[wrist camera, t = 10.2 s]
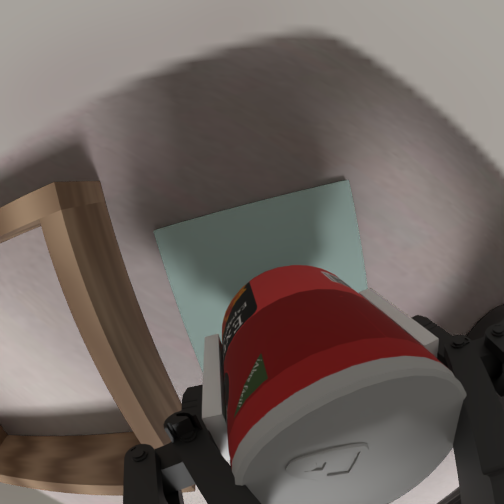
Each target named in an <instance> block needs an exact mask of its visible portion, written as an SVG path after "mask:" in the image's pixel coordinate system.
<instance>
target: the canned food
mask: <svg viewBox="0 0 504 504" xmlns="http://www.w3.org/2000/svg"><path fill="white" fill-rule="evenodd" d="M222 352H223V371H224V389H225V406H226V421H227V436H228V449H229V455H230V464H231V469H232V473H233V475H234V477H235V485H241V486H243V485H246V486H247V487H248V489H249V490H250V491H251V492H252V493H253V494H254V496H255V497H256V498H257V499H258V500H259V501H260V503H261V504H389V503H391V502H393V501H394V500H396V499H398V498H400V497H401V496H403V495H404V494H406V493H407V492H409V491H410V490H411V489H413V488H414V487H416V486H417V485H418V484H419V483H420V482H422V481H423V480H424V479H425V478H426V477H427V476H429V475H430V474H431V473H432V472H433V471H434V470H435V469H436V467H437V466H438V465H439V464H440V463H441V462H442V461H443V460H444V458H445V457H446V456H447V455H448V453H449V452H450V450H451V449H452V448H453V442H454V437H455V433H456V428H457V424H458V420H459V415H460V411H461V407H462V404H463V400H464V399H465V397H466V396H467V395H466V392H465V390H464V388H463V386H462V384H461V382H460V381H459V380H458V379H456V378H455V376H454V375H453V373H452V371H450V370H449V369H448V368H447V367H446V366H445V365H444V364H442V363H441V362H440V361H439V360H438V359H437V358H436V357H435V356H434V355H433V354H432V353H431V352H429V351H428V350H427V349H426V348H425V347H424V346H422V345H421V344H420V343H419V342H418V341H416V340H415V339H414V338H413V337H412V336H410V335H409V334H408V333H407V332H406V331H404V330H403V329H402V328H401V327H399V326H398V325H397V324H396V323H395V322H393V321H392V320H391V319H390V318H388V317H387V316H386V315H385V314H384V313H382V312H381V311H380V310H379V309H377V308H376V307H375V306H374V305H372V304H371V303H370V302H369V301H367V300H366V299H365V298H364V297H363V296H361V295H360V294H359V293H358V292H356V291H355V290H354V289H353V288H351V287H350V286H349V285H347V284H346V283H345V282H344V281H342V280H341V279H340V278H338V277H337V276H336V275H335V274H333V273H330V272H328V271H326V270H324V269H321V268H317V267H313V266H308V265H290V266H283V267H277V268H274V269H271V270H268V271H265V272H263V273H262V274H260V275H258V276H256V277H254V278H253V279H252V280H250V281H249V282H248V283H247V284H246V285H244V286H243V287H242V288H241V289H240V290H239V292H238V293H237V294H236V295H235V296H234V298H233V299H232V300H231V302H230V304H229V306H228V308H227V310H226V312H225V316H224V319H223V323H222Z"/></svg>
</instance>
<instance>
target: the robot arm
mask: <svg viewBox="0 0 504 504" xmlns="http://www.w3.org/2000/svg"><path fill="white" fill-rule="evenodd" d="M359 294H360V295H361V296H363V297H364V298H365V299H366V300H367V301H369V302H370V303H371V304H372V305H374V306H375V307H376V308H377V309H379V310H380V311H381V312H382V313H384V314H385V315H386V316H387V317H388V318H390V319H391V320H392V321H393V322H395V323H396V324H397V325H398V326H399V327H401V328H402V329H403V330H404V331H406V332H407V333H408V334H409V335H410V336H412V337H413V338H414V339H415V340H416V341H418V342H419V343H420V344H421V345H422V346H424V347H425V348H426V349H427V350H428V351H429V352H431V353H432V354H433V355H434V356H435V357H436V358H437V359H438V360H439V361H440V362H441V363H442V364H444V365H445V366H446V367H447V368H448V369H449V370H450V371H452V373H453V375H454V376H455V378H456V379H458V380H459V381H460V382H461V384H462V386H463V388H464V390H465V392H466V395H467V396H466V397H465V399H464V400H463V404H462V407H461V411H460V415H459V420H458V424H457V428H456V433H455V437H454V442H453V448H454V454H455V460H456V466H457V472H458V479H459V487H458V488H457V489H455V490H454V491H453V492H452V493H450V494H449V495H448V496H446V497H445V498H444V499H442V500H441V501H440V502H438V503H437V504H504V305H501V306H499V307H497V308H495V309H493V310H492V311H491V312H489V313H488V314H487V315H486V316H484V317H483V318H482V319H481V320H480V321H479V322H478V323H477V324H476V326H475V327H474V328H473V329H472V330H471V332H470V333H469V334H468V335H467V336H463V335H455V336H452V335H450V334H449V333H447V332H446V331H445V330H443V329H442V328H440V327H439V326H437V325H436V324H435V323H432V321H430V320H429V319H428V318H426V317H423V316H419V315H417V316H414V317H412V318H411V317H409V316H408V315H407V314H405V313H404V312H403V311H401V310H400V309H399V308H397V307H396V306H395V305H393V304H392V303H390V302H389V301H388V300H386V299H385V298H384V297H382V296H381V295H380V294H378V293H377V292H375V291H374V290H373V289H371V288H369V289H366V290H363V291H360V292H359ZM181 409H182V410H181V411H178V412H175V413H173V414H172V415H170V416H169V417H168V418H167V419H166V420H165V422H164V424H163V425H164V429H165V431H166V433H167V435H168V436H169V438H170V440H171V442H170V443H168V444H166V445H164V446H162V447H159V448H156V449H154V448H153V447H152V446H151V445H148V444H138V445H135V446H133V447H132V448H130V449H129V450H128V451H127V452H126V454H125V457H124V477H123V504H184V501H183V496H182V490H181V489H184V488H187V487H189V486H192V485H194V484H196V485H197V487H198V489H199V490H200V492H201V494H202V495H203V497H204V498H205V500H206V502H207V503H208V504H261V503H260V501H259V500H258V499H257V498H256V497H255V496H254V494H253V493H252V492H251V491H250V490H249V489H248V487H247V486H246V485H243V486H241V485H235V477H234V475H233V473H232V469H231V466H230V465H229V464H228V462H227V461H230V455H229V449H228V436H227V421H226V406H225V389H224V371H223V352H222V343H221V340H220V337H219V334H215V335H211V336H207V337H205V341H204V364H203V385H199V386H194V387H189V388H187V390H186V391H185V393H184V394H183V398H182V407H181Z"/></svg>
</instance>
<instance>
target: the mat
mask: <svg viewBox="0 0 504 504" xmlns="http://www.w3.org/2000/svg"><path fill="white" fill-rule="evenodd" d="M154 235H155V238H156V241H157V245H158V248H159V251H160V254H161V257H162V261H163V264H164V267H165V270H166V273H167V276H168V279H169V282H170V285H171V288H172V291H173V294H174V297H175V300H176V303H177V305H178V308H179V311H180V314H181V317H182V319H183V322H184V325H185V328H186V330H187V333H188V336H189V338H190V341H191V344H192V346H193V349H194V351H195V354H196V357H197V359H198V362H199V364H200V367H201V369H202V372H203V364H204V341H205V337H207V336H211V335H215V334H219V337H220V340H221V343H222V323H223V319H224V316H225V312H226V310H227V308H228V306H229V304H230V302H231V300H232V299H233V298H234V296H235V295H236V294H237V293H238V292H239V290H240V289H241V288H242V287H243V286H244V285H246V284H247V283H248V282H249V281H250V280H252V279H253V278H254V277H256V276H258V275H260V274H262V273H263V272H265V271H268V270H271V269H274V268H277V267H283V266H290V265H308V266H313V267H317V268H321V269H324V270H326V271H328V272H330V273H333V274H335V275H336V276H337V277H338V278H340V279H341V280H342V281H344V282H345V283H346V284H347V285H349V286H350V287H351V288H353V289H354V290H355V291H356V292H358V293H359V292H360V291H363V290H366V289H368V288H367V280H366V273H365V266H364V260H363V253H362V247H361V241H360V235H359V229H358V224H357V218H356V213H355V208H354V203H353V198H352V193H351V188H350V183H349V180H343V181H339V182H335V183H330V184H326V185H322V186H317V187H313V188H309V189H305V190H301V191H296V192H292V193H288V194H284V195H280V196H276V197H272V198H268V199H264V200H261V201H257V202H253V203H249V204H245V205H241V206H238V207H234V208H230V209H226V210H223V211H219V212H215V213H212V214H208V215H205V216H201V217H197V218H194V219H190V220H187V221H183V222H180V223H176V224H173V225H170V226H166V227H163V228H159V229H156V230H154Z"/></svg>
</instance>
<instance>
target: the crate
mask: <svg viewBox="0 0 504 504" xmlns="http://www.w3.org/2000/svg"><path fill="white" fill-rule="evenodd" d="M39 226H41V227H42V230H43V234H44V237H45V240H46V244H47V247H48V250H49V253H50V256H51V259H52V262H53V265H54V268H55V271H56V274H57V277H58V280H59V282H60V285H61V288H62V290H63V293H64V296H65V298H66V301H67V303H68V306H69V308H70V311H71V313H72V315H73V318H74V320H75V323H76V325H77V327H78V329H79V332H80V334H81V336H82V338H83V340H84V343H85V345H86V347H87V349H88V351H89V353H90V355H91V357H92V359H93V361H94V363H95V365H96V367H97V369H98V371H99V373H100V375H101V377H102V379H103V381H104V383H105V384H106V386H107V388H108V390H109V392H110V394H111V395H112V397H113V399H114V401H115V402H116V404H117V406H118V408H119V409H120V411H121V413H122V414H123V416H124V418H125V419H126V421H127V422H128V424H129V426H130V427H131V429H132V430H133V432H123V433H112V434H98V435H79V436H20V435H7V433H6V432H5V431H4V429H3V428H2V426H1V425H0V482H2V483H7V484H12V485H17V486H22V487H27V488H33V489H40V490H47V491H55V492H64V493H75V494H89V495H123V477H124V457H125V454H126V452H127V451H128V450H129V449H130V448H132V447H133V446H135V445H138V444H148V445H151V446H152V447H153V448H154V449H156V448H159V447H162V446H164V445H166V444H168V443H170V442H171V440H170V438H169V436H168V435H167V433H166V431H165V429H164V425H163V424H164V422H165V420H166V419H167V418H168V417H169V416H170V415H172V414H173V413H175V412H178V411H181V410H182V409H181V407H182V404H181V402H180V400H179V398H178V396H177V394H176V391H175V389H174V387H173V385H172V383H171V381H170V379H169V376H168V374H167V372H166V370H165V368H164V365H163V363H162V361H161V359H160V356H159V354H158V352H157V349H156V347H155V345H154V342H153V340H152V337H151V335H150V332H149V330H148V328H147V325H146V322H145V320H144V317H143V315H142V312H141V310H140V307H139V304H138V302H137V299H136V296H135V294H134V291H133V288H132V285H131V282H130V280H129V277H128V274H127V271H126V268H125V265H124V262H123V259H122V256H121V253H120V250H119V247H118V243H117V240H116V237H115V234H114V230H113V227H112V224H111V220H110V217H109V213H108V210H107V206H106V202H105V199H104V195H103V191H102V187H101V183H100V181H72V182H53V183H51V184H48V185H46V186H44V187H42V188H40V189H37V190H35V191H33V192H31V193H29V194H27V195H25V196H23V197H21V198H19V199H17V200H15V201H13V202H11V203H9V204H7V205H5V206H3V207H1V208H0V243H2V242H4V241H7V240H9V239H11V238H13V237H16V236H18V235H20V234H22V233H25V232H27V231H30V230H32V229H34V228H37V227H39ZM181 490H182V493H183V492H192V491H195V484H194V485H192V486H189V487H187V488H184V489H181Z"/></svg>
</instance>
